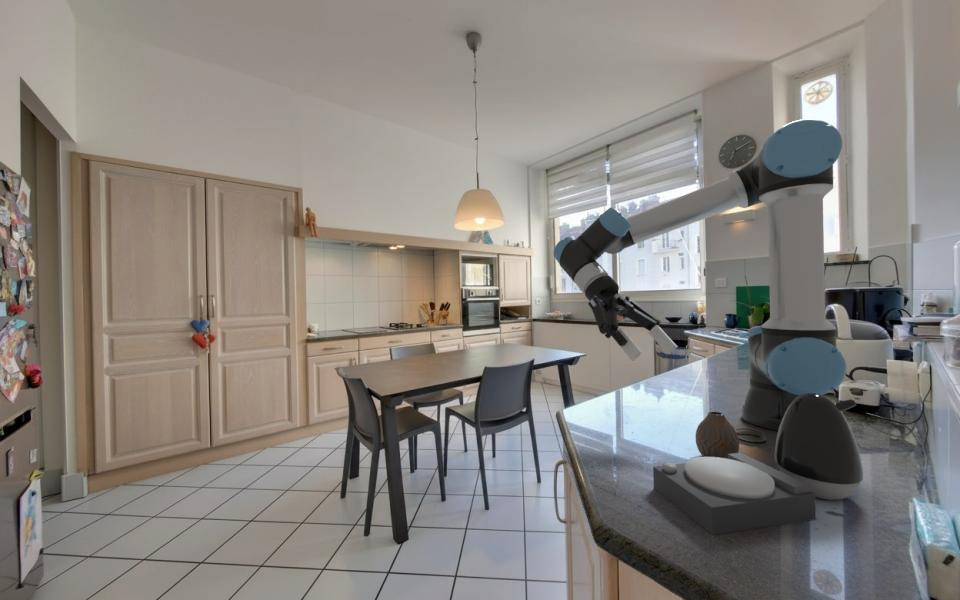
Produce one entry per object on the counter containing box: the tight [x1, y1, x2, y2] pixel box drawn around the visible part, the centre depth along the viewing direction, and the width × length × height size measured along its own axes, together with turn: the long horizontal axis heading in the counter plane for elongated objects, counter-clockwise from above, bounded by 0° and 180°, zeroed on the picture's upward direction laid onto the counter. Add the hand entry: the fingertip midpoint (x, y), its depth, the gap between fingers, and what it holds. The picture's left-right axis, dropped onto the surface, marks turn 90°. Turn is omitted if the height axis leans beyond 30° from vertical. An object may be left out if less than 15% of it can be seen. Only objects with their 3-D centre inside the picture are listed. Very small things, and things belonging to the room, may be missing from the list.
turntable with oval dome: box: [652, 452, 817, 536], centre depth 55 cm, size 16×12×4 cm
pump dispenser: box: [773, 393, 864, 501], centre depth 58 cm, size 10×10×15 cm
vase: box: [695, 410, 740, 459], centre depth 69 cm, size 7×7×9 cm
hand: (656, 353), depth 79 cm, fingers open, 13 cm apart
